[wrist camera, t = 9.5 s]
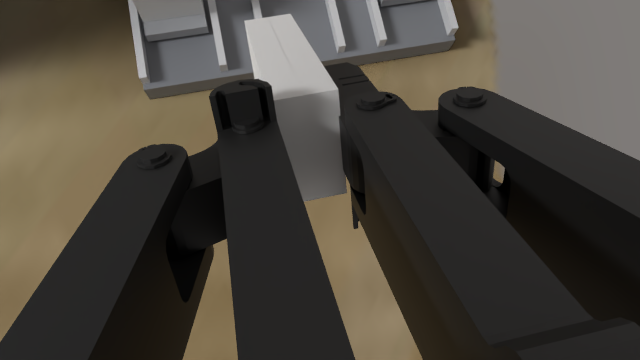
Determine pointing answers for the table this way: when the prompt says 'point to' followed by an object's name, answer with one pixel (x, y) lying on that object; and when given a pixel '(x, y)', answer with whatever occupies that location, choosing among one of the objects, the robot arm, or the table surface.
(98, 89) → the table surface
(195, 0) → the grey slider
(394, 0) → the sage knob slider
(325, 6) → the grey slotted tray
